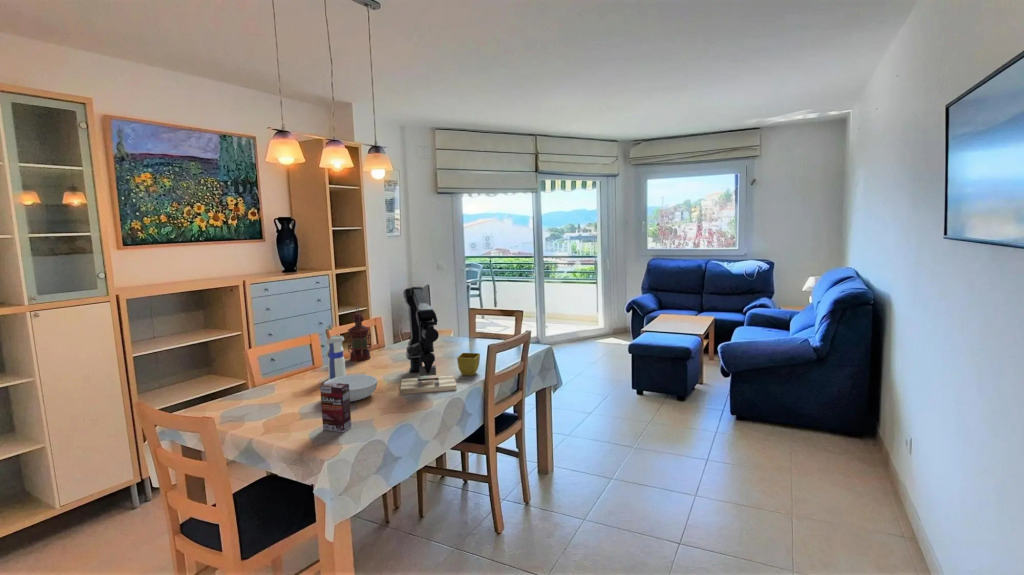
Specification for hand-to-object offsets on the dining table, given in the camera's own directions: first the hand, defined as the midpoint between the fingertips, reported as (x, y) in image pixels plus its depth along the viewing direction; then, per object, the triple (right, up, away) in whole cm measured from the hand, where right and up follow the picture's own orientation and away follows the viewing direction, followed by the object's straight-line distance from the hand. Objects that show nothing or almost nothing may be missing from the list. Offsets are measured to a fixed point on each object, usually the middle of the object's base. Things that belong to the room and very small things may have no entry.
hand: (427, 372), depth 224 cm
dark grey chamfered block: (0, -1, 0) cm, 1 cm away
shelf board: (+1, -6, -3) cm, 6 cm away
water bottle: (-44, -5, +12) cm, 45 cm away
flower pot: (+17, -4, +15) cm, 22 cm away
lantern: (-43, -1, +45) cm, 62 cm away
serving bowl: (-29, -8, -15) cm, 33 cm away
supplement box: (-24, -12, -46) cm, 53 cm away
